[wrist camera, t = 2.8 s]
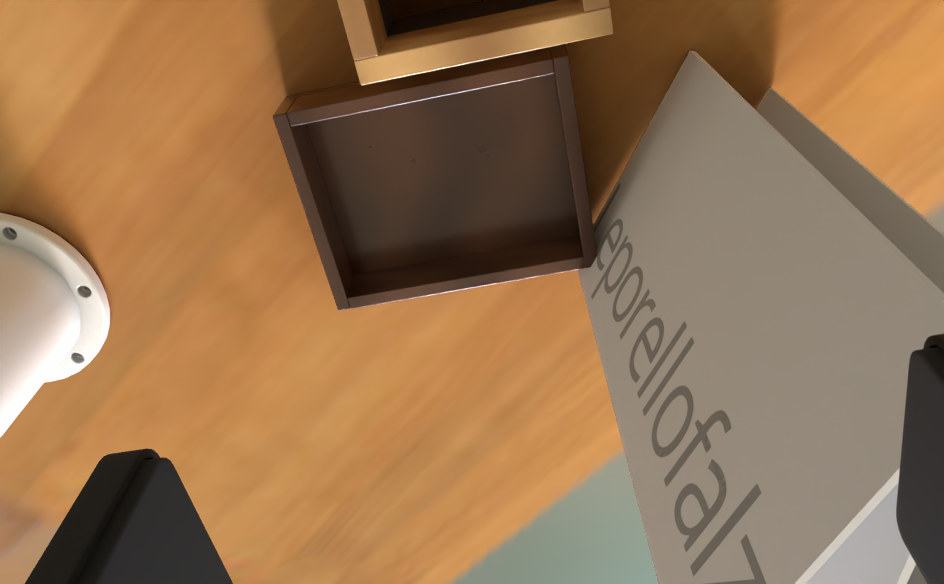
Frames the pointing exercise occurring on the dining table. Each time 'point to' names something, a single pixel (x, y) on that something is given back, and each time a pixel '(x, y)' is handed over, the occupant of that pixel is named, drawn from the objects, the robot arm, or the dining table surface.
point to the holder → (442, 178)
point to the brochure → (761, 341)
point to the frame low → (449, 14)
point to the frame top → (465, 36)
